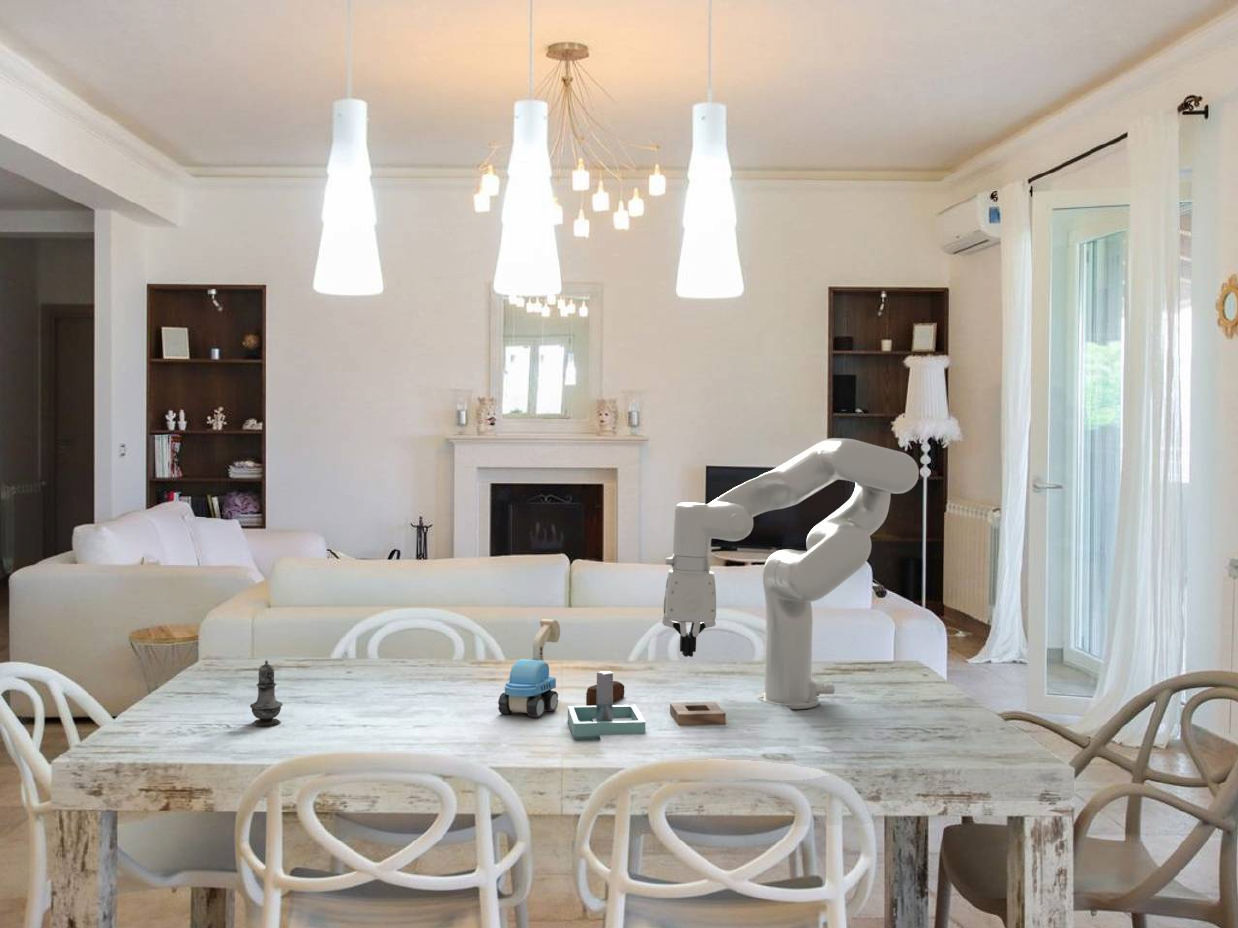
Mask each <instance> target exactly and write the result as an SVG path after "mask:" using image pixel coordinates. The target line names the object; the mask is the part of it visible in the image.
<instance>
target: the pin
mask: <svg viewBox="0 0 1238 928" xmlns="http://www.w3.org/2000/svg"><path fill="white" fill-rule="evenodd" d="M613 681H614V672H612V671H605V670H604V671H603V670H602V671H598V672H596V685H597V705H596V718H595V719H596V720H595V722H601V721H613V717H612V713H613V705H614V702H613Z"/></svg>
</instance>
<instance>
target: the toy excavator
mask: <svg viewBox="0 0 1238 928" xmlns="http://www.w3.org/2000/svg"><path fill="white" fill-rule="evenodd" d="M539 623H540V624H539V625H540V629H539V631H538V632H537V633H536V635H535V636H534V639H533V643H532V659H528V658H527V659H525V658H524V659H523V658H522V659H521V658H520V659H517V660H516V661H515V662H514V663H513V665H512V667H511V668H510V674H509V681H508V682H506V683H505V685H504V692H502V693H501V694H500V695H499V697H498V701H497V704H498V707H497V708H498V711H499V713H500V714H503V715H504V714H506V715H511V714H512V713H513V712H514V713H521V714H522V713H525V714H527V715H528V717H530V718H539V717H540V716H542V715H543V713H544V712H545V711H546V712H547V711H548V712H555V711H556V710H557V708H558V704H559V693H558V692H557V691H556V690H553V689H555V688H556V687H557V678H556V677H553V676H550V666H549V664H548V663H547V662H546V661H545V660H544V647H545V645H546V643H558V642H559V640H560V635H561V628H560V624H559V622H558V621H557V620H556V619H551V618H550V619H548V618H547V619H545V618H542V619H540V621H539Z"/></svg>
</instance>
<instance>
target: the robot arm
mask: <svg viewBox="0 0 1238 928" xmlns="http://www.w3.org/2000/svg"><path fill="white" fill-rule="evenodd" d="M919 470H920V469H919V466H918V463H917V462H916V461H915V459H914V458H913V457H912V456H910V455H909V454H907V453H905V452H902V451H899V450H894V449H892V448H887V447H883V446H879V445H876V444H872V443H868V442H866V441H865V442H864V441H861V440H857V439H852V438H840V437H839V438H838V437H832V438H826V439H823V440H821V441H819V442H817V443H815V444H813V445H812V446H811V447H809V448H807V449H806V450H804V451H803V452H801V453H799V454H798V455H796V456H794V457H793V458H791V459H789V460H788V461H786V462H784V463H782V464H780V465H779V466H777V467H776V468H774V469H772V470H770V471H767V472H764V473H763V474H760V475H759V476H757V477H754V478H752V479H749V480H747V481H745V482H743V483H741V484H739V485H737V486H735V487H733V488H732V489H730V490H728V491H726V492H725V493H723V494H721V495H720V496H719V497H718V496H717V497H716V498H715V499H713V500H712V501H710V502H709V503H703V502H702V503H701V502H680V503H678V504H676V506H675V507H674V508H675V510H674V520H673V521H674V523H673V543H672V544H673V546H672V554H671V557H667V558H665V561H664V562H665V565H666V566H670V567H671V569H669V571H668V574H667V579H666V583H665V592H664V600H663V618H662V621H661V623H662V625H663V626H665V627H668V628H672V629H675V631H676V632H677V633H678V634H679V635H680V636H679V637H680V639H679V652H681V653H682V655H683V656H684V658H685V657H690V658H693V656H694V653H696V652H697V651H696V650H697V637H699V634H701V633H702V632H703V631H704V629H709V628H713V627H715V626H716V625H717V624H716V623H717V622H716V617H717V589H716V587H717V586H716V579H715V572H714V571H711V554H712V553H711V549H712V548H711V547H712V539H715V540H717V539H718V540H723V541H728V542H738V541H741V540H744V539H745V538H746V537H748V536H749V535H750V534H751V532H752V531H753V528H754V517H756V516H758V515H761V514H764V513H766V512H770V511H774V510H775V511H776V510H782V509H786V508H789V507H792V506H795V505H798V504H800V503H802V501H804V500H806V499H807V498H809V497H811V496H813V495H814V494H816V493H818V492H820V491H821V490H823V489H824V488H825V487H827V486H829V485H830V484H832V483H834V482H836V481H838V480H841V481H848V482H852V483H855V487H854V491H853V492H852V494H851V497H850V498H848V499H847V501H845V503H843V504H842V505H841V506H839V508H837V509H836V510H835V511H833V512H832V513H831V514H829V515H828V516H827V517H826V518H824V519H823V520H821V521H820V522H818V523H817V524H816V525H815V526H813V528H812V529H811V530H810V531H809V533H808V534H807V537H806V541H805V542H806V543H805V545H806V550H807V552H804V551H800V550H796V549H792V548H791V549H790V548H789V549H788V548H786V549H781V550H780V549H779V550H777V551H775V552H773V553H772V554H771V555H769V557H768V558H767V560H766V561H765V563H764V566H763V570H762V572H763V573H762V585H763V591H764V599H765V640H764V641H765V645H764V648H765V650H764V653H765V655H764V691H762V692H760V693H758V694H757V695H756V698H757V700H758V701H761V702H764V703H767V704H771V705H779V706H786V707H787V708H788V709H790V710H804V709H811V708H815V707H816V706H817V707H818V705H819V701H820V700H819V697H820V695H823V694H824V695H834V694H835V690H836V689H835V685H834V684H825V683H816V682H815V681H814V680H812V667H813V663H812V658H813V623H814V622H813V609H812V602H816V601H819V600H821V599H823V598H824V597H826V596H827V595H828V594H830V593H831V592H832V591H834V590H835V589H837V588H838V587H839V586H840V585H842V584H843V583H844V582H845V581H846V580H849V578H851V576H853V575H854V574H855V573H857V572H858V571H859V570H860V569H861V568H862V567H863V566H864V565H865V564H866V562H867V561H868V559H869V557H870V554H871V551H872V539H871V536H872V534H874V533H875V532H876V531H877V530H878V529H879V528H880V527H881V526H882V525H883V524H884V523H885V520H886V519H887V516H888V513H889V509H890V503H891V494H893V495H894V494H896V495H897V494H904V493H907V492H910V490H912V489H913V488H914V487H915V486H916V484H917V483H918V480H919V476H920V475H919V474H920V471H919ZM687 623H691V625H690V628H689V629H690V630H689V632H687Z"/></svg>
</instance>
